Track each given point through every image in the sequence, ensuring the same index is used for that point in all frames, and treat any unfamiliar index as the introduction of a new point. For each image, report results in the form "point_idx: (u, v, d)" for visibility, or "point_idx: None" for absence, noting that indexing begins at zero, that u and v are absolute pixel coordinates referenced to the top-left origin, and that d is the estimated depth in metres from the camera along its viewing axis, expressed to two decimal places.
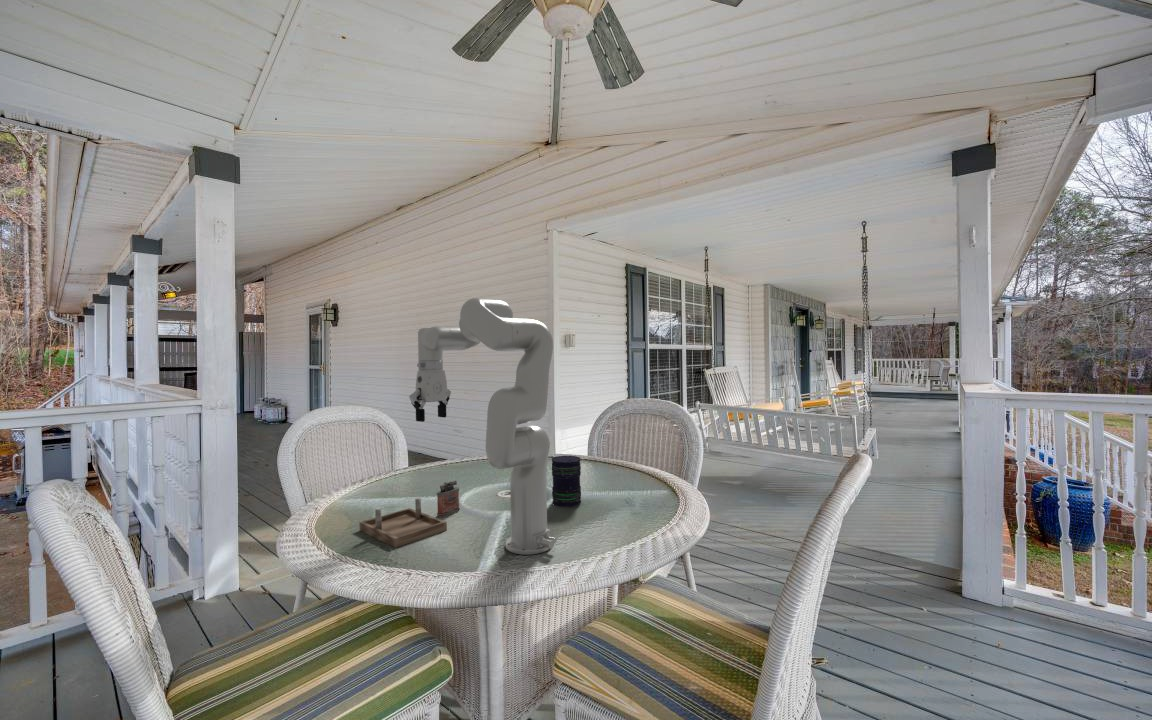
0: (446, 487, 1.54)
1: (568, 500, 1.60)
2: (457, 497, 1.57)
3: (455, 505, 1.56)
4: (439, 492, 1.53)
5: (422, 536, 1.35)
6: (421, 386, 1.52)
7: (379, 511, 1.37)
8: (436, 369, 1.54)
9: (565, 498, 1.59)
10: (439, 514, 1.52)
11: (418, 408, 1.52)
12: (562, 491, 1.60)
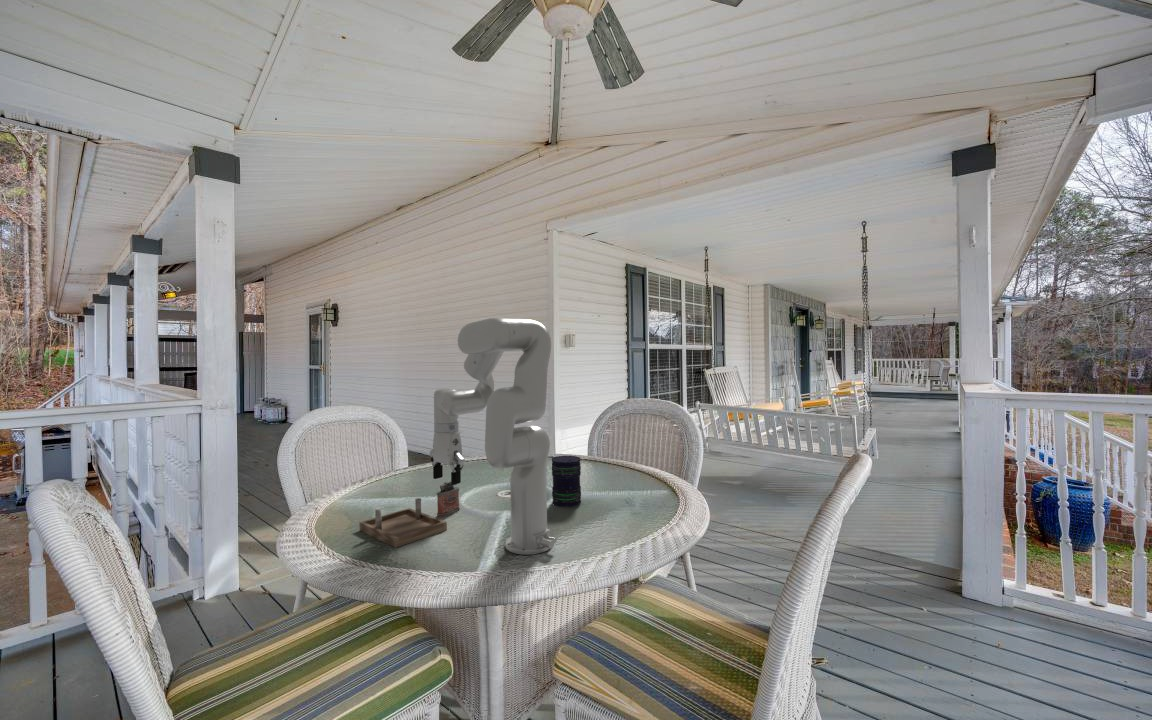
0: (446, 487, 1.54)
1: (568, 500, 1.60)
2: (457, 497, 1.57)
3: (455, 505, 1.56)
4: (439, 492, 1.53)
5: (422, 536, 1.35)
6: (458, 448, 1.53)
7: (379, 511, 1.37)
8: None
9: (565, 498, 1.59)
10: (439, 514, 1.52)
11: (459, 470, 1.52)
12: (562, 491, 1.60)
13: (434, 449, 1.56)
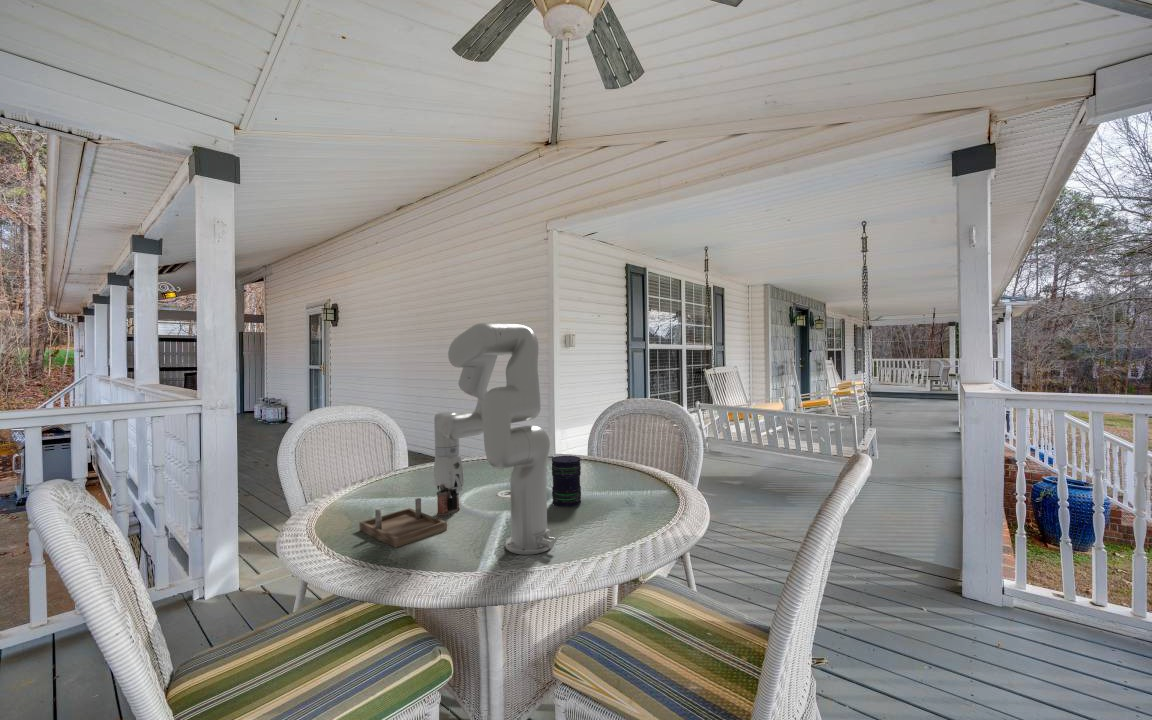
0: None
1: (568, 500, 1.60)
2: (457, 497, 1.57)
3: None
4: (439, 492, 1.53)
5: (422, 536, 1.35)
6: (459, 471, 1.53)
7: (379, 511, 1.37)
8: None
9: (565, 498, 1.59)
10: (439, 514, 1.52)
11: (455, 497, 1.54)
12: (562, 491, 1.60)
13: (435, 473, 1.56)
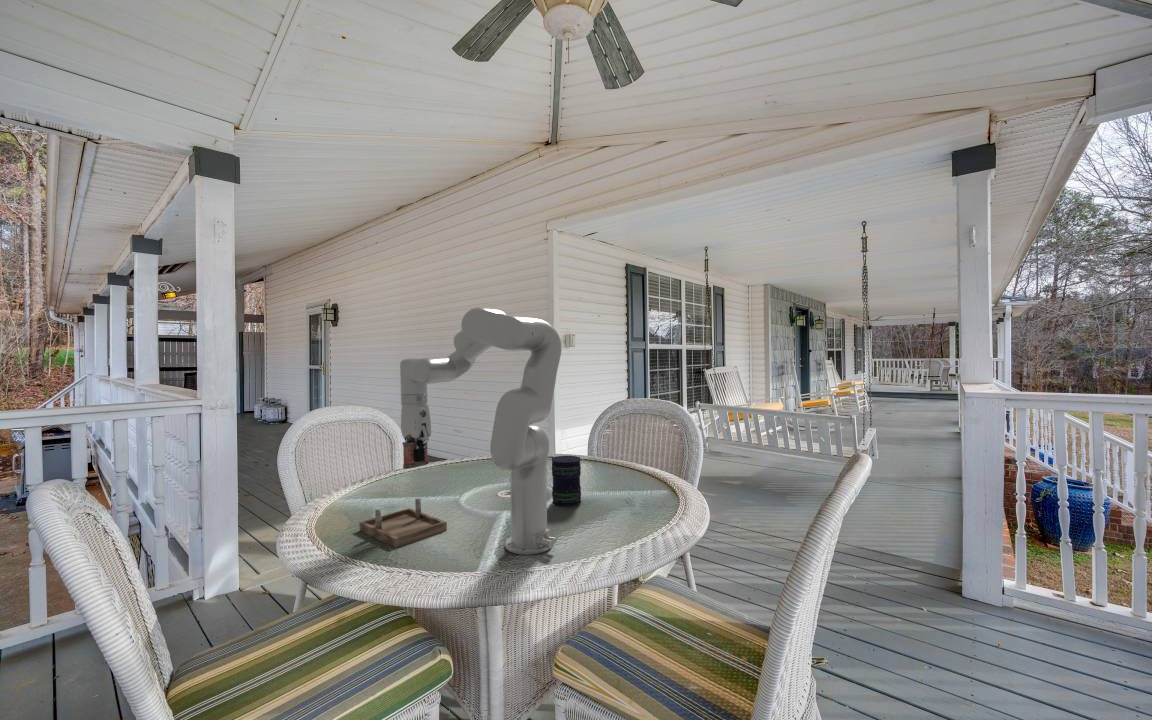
0: None
1: (568, 500, 1.60)
2: (426, 449, 1.48)
3: None
4: (405, 442, 1.44)
5: (422, 536, 1.35)
6: (426, 421, 1.44)
7: (379, 511, 1.37)
8: None
9: (565, 498, 1.59)
10: (405, 465, 1.44)
11: (422, 448, 1.45)
12: (562, 491, 1.60)
13: (402, 423, 1.47)
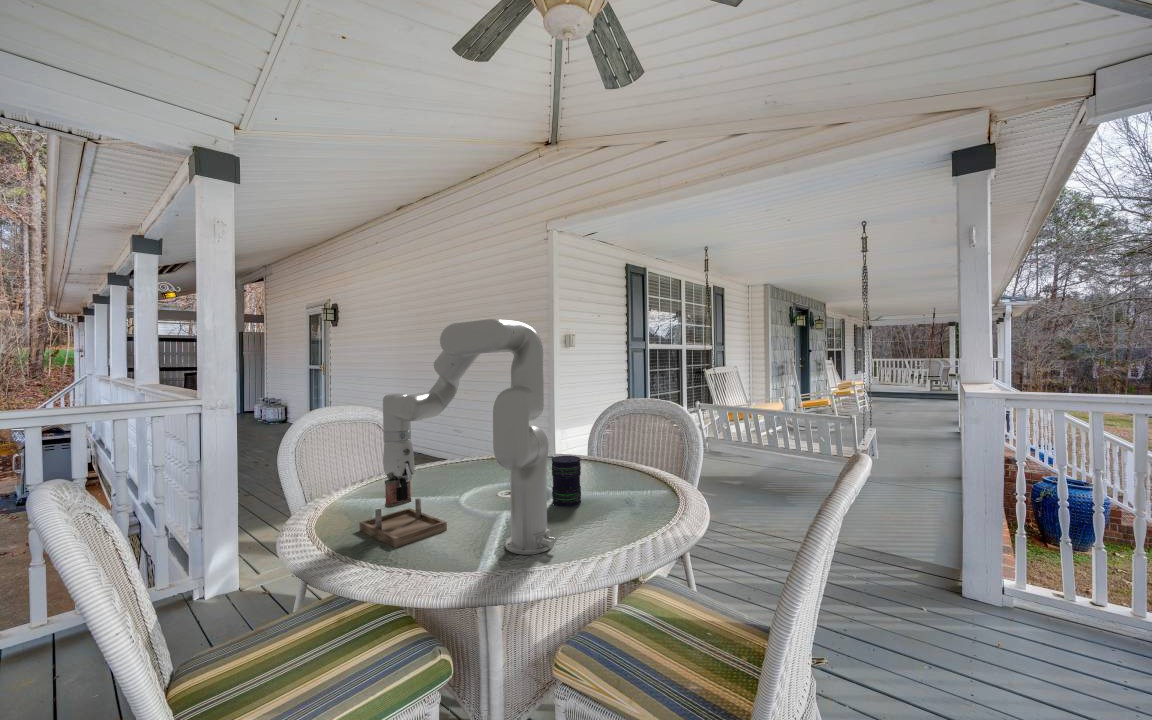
0: None
1: (568, 500, 1.60)
2: (409, 486, 1.44)
3: None
4: (387, 481, 1.40)
5: (422, 536, 1.35)
6: (409, 458, 1.40)
7: (379, 511, 1.37)
8: None
9: (565, 498, 1.59)
10: (387, 505, 1.39)
11: (405, 486, 1.41)
12: (562, 491, 1.60)
13: (384, 460, 1.43)
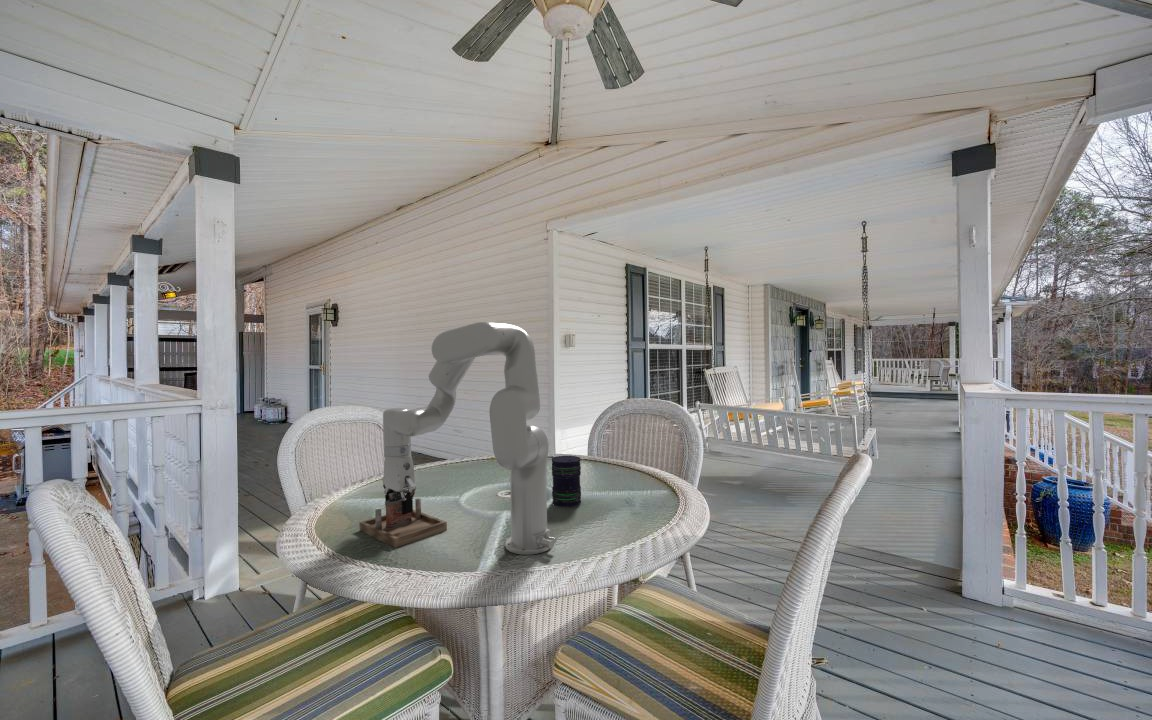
0: (395, 496, 1.41)
1: (568, 500, 1.60)
2: None
3: (406, 515, 1.43)
4: (388, 501, 1.40)
5: (422, 536, 1.35)
6: (410, 473, 1.40)
7: (379, 511, 1.37)
8: None
9: (565, 498, 1.59)
10: (387, 525, 1.40)
11: (410, 498, 1.39)
12: (562, 491, 1.60)
13: (385, 474, 1.43)
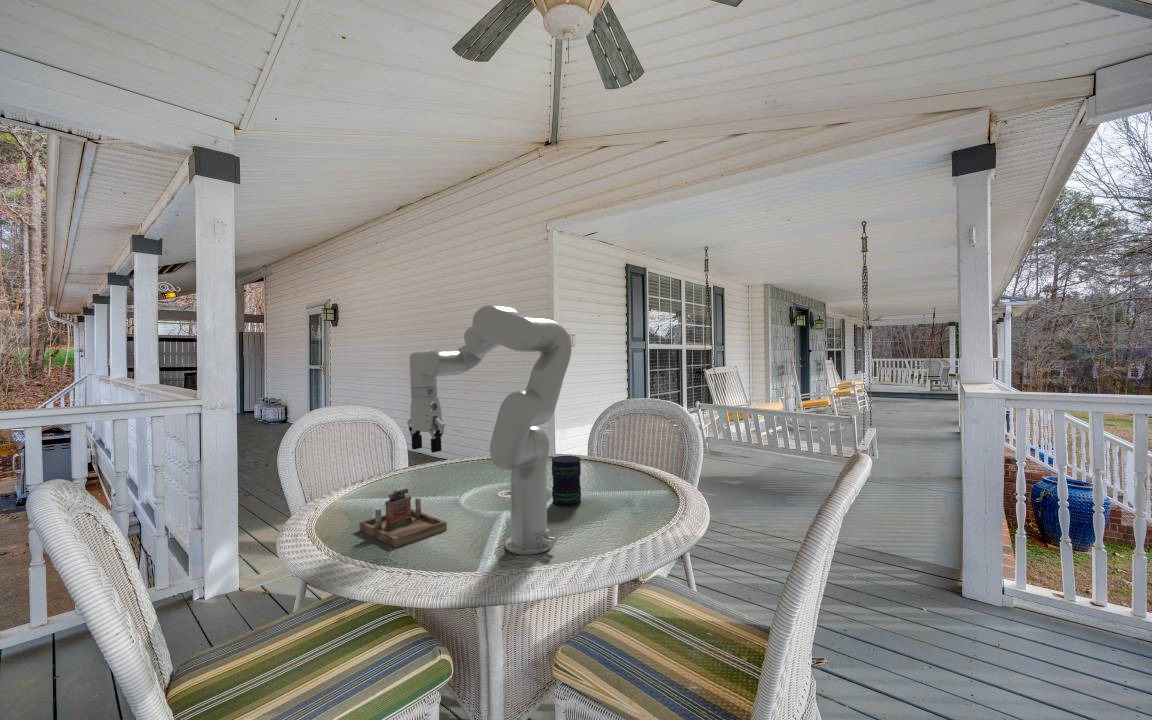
0: (395, 496, 1.41)
1: (568, 500, 1.60)
2: (409, 507, 1.45)
3: (406, 515, 1.43)
4: (388, 501, 1.40)
5: (422, 536, 1.35)
6: (437, 413, 1.44)
7: (379, 511, 1.37)
8: None
9: (565, 498, 1.59)
10: (387, 525, 1.40)
11: (439, 437, 1.43)
12: (562, 491, 1.60)
13: (412, 417, 1.46)
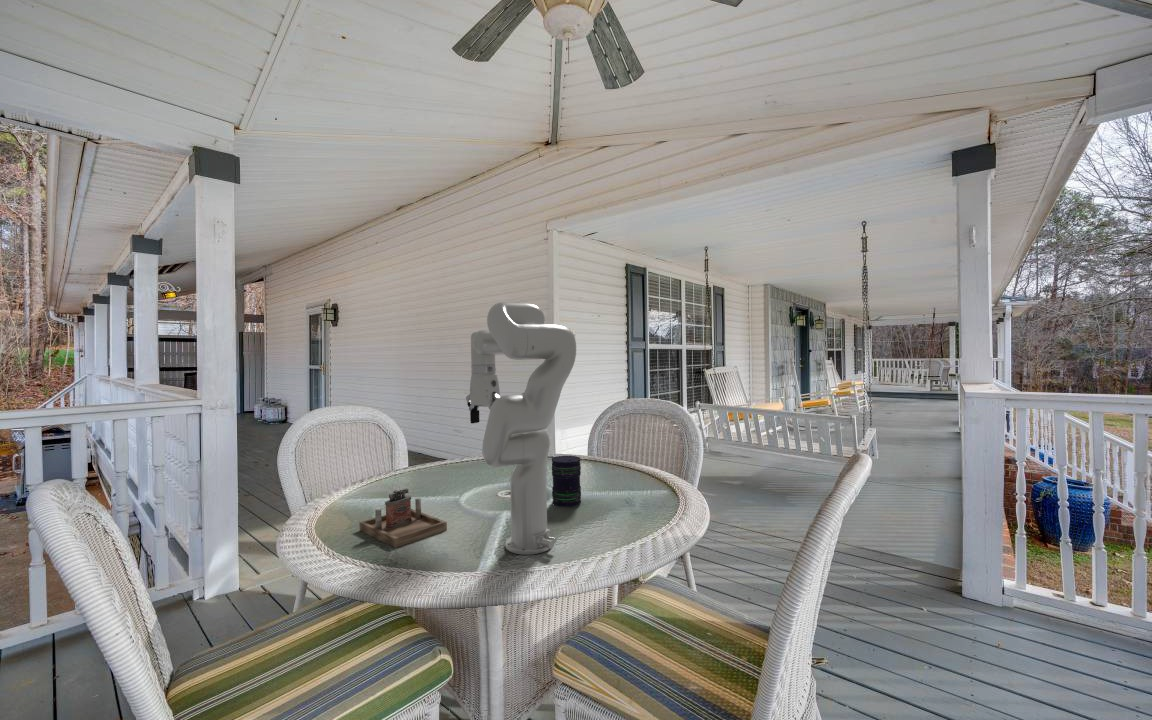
0: (395, 496, 1.41)
1: (568, 500, 1.60)
2: (409, 507, 1.45)
3: (406, 515, 1.43)
4: (388, 501, 1.40)
5: (422, 536, 1.35)
6: (496, 390, 1.53)
7: (379, 511, 1.37)
8: None
9: (565, 498, 1.59)
10: (387, 525, 1.40)
11: None
12: (562, 491, 1.60)
13: (471, 392, 1.56)
